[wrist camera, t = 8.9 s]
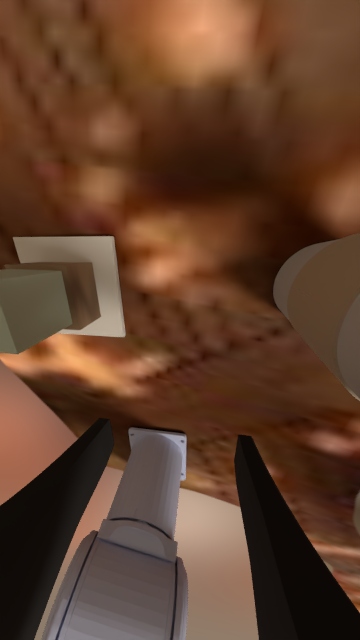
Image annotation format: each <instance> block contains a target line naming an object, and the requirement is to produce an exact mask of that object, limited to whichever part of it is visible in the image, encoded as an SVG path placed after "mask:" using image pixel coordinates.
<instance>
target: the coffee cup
mask: <svg viewBox="0 0 360 640" xmlns="http://www.w3.org/2000/svg"><path fill="white" fill-rule="evenodd" d="M273 296H274V300H275V303H276V305H277V307H278V308H279V310H280V311H281V312H282V313H283V314H284V315H285V316H286V317H287V319H288V320H289V321H290V322H291V324H292V326H293V328H294V329H295V330H296V332H297V333H298V334H299V335H300V336H301V337H302V339H303V340H304V341H305V342H306V343H307V344H308V345H309V347H310V348H311V349H312V350H313V351H314V352H315V353H316V355H317V356H318V357H319V358H320V359H321V360H322V362H323V363H324V364H325V365H326V366H327V367H328V368H329V370H330V371H331V372H332V373H333V374H334V375H335V376H336V378H337V379H338V380H339V381H340V382H341V383H342V384H343V386H344V387H345V388H346V389H347V390H348V391H349V392H350V393H351V394H352V395H353V396H354V397H355V398H356V399H358V400H359V401H360V233H357V234H353V235H350V236H347V237H344V238H342V239H338V240H333V241H328V242H323V243H317V244H313V245H310V246H308V247H305V248H303V249H301V250H300V251H298V252H296V253H295V254H294V255H292V256H291V257H290V258H289V259H288V260H287V261H286V262H285V263H284V264H283V266H282V267H281V268H280V270H279V272H278V274H277V276H276V278H275V281H274V286H273Z"/></svg>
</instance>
